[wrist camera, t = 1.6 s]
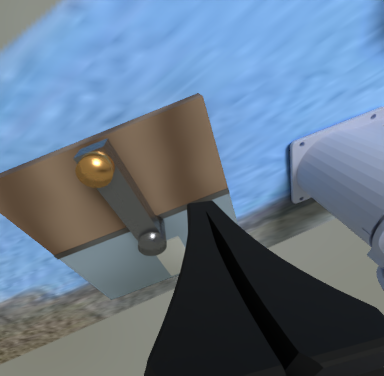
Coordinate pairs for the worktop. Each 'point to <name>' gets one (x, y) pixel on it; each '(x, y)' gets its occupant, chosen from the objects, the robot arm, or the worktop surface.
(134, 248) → the door leaf
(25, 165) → the jamb board
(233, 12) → the worktop surface
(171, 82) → the worktop surface
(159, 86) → the worktop surface
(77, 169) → the lock bar
